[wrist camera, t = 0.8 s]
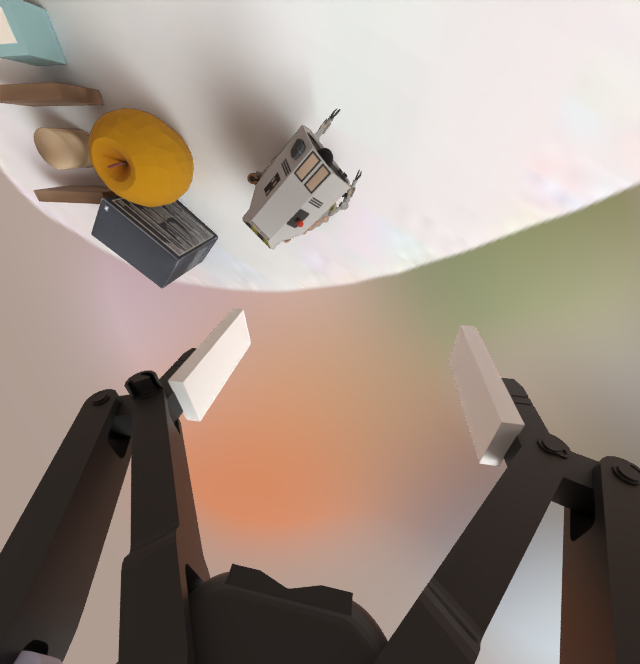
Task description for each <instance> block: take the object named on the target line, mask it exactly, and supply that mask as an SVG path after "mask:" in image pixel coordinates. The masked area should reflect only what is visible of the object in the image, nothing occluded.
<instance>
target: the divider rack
mask: <svg viewBox="0 0 640 664" xmlns="http://www.w3.org/2000/svg"><path fill="white" fill-rule="evenodd" d="M0 103H7V104H16V105H26V106H73V105H104V104H103V101H102V98H101V95H100V92H99V90H94V89H88V88H83V87H78V86H72V85H67V84H62V83H32V84H5V85H0ZM34 192H35V194H36V196H37V198H38V200H39V201H43V202H67V203H91V204H100V203H101V199H102V198H109V197H114V196H118V195H117V194H116V193H114V192H113V191H112V190H110V189H109V188H108V187H105V186H72V185H70V186H62V187H55V188H47V189H40V190H34Z"/></svg>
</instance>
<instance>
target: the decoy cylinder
mask: <svg viewBox="0 0 640 664" xmlns="http://www.w3.org/2000/svg"><path fill="white" fill-rule="evenodd" d="M89 136H90V135H89V134H88V133H86V132H85V131H82V130H76V129H55V128H38V129H37V130H36V131H35V133H34V142H35V145H36V148H37V150H38V152H39V153H40V155H41V156H42V158H43V159H44V160H45V161H46V162H47V163H48V164H49V165H51V166H52V167H54V168H56V169H71V168H84V167H93V165H92V163H91V161H90V153H89V142H88V140H89Z"/></svg>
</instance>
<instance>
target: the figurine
mask: <svg viewBox="0 0 640 664" xmlns="http://www.w3.org/2000/svg"><path fill="white" fill-rule="evenodd" d="M336 110H337V109H336ZM336 110H334V111H333V113H332V114H331V116H329V118H328V120H327V119H326V120H325V121H324V122H323V124H322V125H321V126H320V128H319V130H318V131H317V133H316V134H313V133H312V131H311V130H310V129H309V128H307V127H305V126H303V125H302V126H301V127H300V128H299V130H298V131H297V132H296V134H295V135H294V136H293V137H292V139H291V140H290V141H289V143H288V144H287V145H286V146H285V148H284V149H283V150H282V152H281V153H280V154H279V155H277V156H276V157H275V158H273V159H272V160H271V164H272V165H270V166H269V167H267V168H266V169H265V170H264V172H259V171H256V174H255V173H251V174H249V175H248V181H249V182H250V183H251V184H255V185H256V187H255V191H254V194H253V198H252V202H251V205H250V209H249V210H248V211H247V213H246V214H245V215H244V216H243V218H242V219H243V221H244V222H245V223H246V225H247V226H248V227H249V228H250V229H251V230H252V231H253V232H254V233H255V234H256V235H257V236H258V237H259V238H260V239H261V240H262V241H263V242H264V243H265V244H266V245H267V246H268V247H269V248H270V249H274V248H275V247H276V246H277V245H278V244H279V243H280V242H282V241H284V242H286V243H287V242H289V241H290V240H291V238H294V237H296V236H299V235H302V234H306V232H307V231H309V230H313V229H314V228H316V227H317V226H320V225H321V224H322V223H323V222H327V221H328V219H329V217H330V216H332V215H334V214H335V213H337V212H338V211H339V210H340V209H341V210H345V209H347V208H348V202H349V201H350V198H351V197H352V196H353V193H354V191H355V187H354V186H355V184H356V182H357V180H358V179H359V177H360V176H361V173H360V175H359V176H358V174H359V171H358V173H357V175H356V178H355V180H353V183H352V186H351V185H350V182H349V180H348V178H347V175H346V174H345V172H344V173H343V172H342V170H341V169H340V168H339V167H338V165H337V164H336V163H335V161H334V160H333V154H332V152H331V151H330V150H329V149H327V148H324V147H323V146H322V144H321V143H320V142H319V137H320V136H321V135H322V134H324V133H325V131H326V130H327V129H328V128H329V126H330V125H331V123H330V122H332V121H333V118H334V117H335V116H336V115H337V114H338V112H339V111H340V109H339V110H338V111H337V112H336V113H335V111H336ZM334 113H335V114H334ZM333 115H334V116H333ZM359 170H360V169H359ZM361 172H362V171H361ZM357 176H358V177H357ZM346 192H347V193H346ZM340 197H345V198H344V200H343V202H341V203H340V204H339V207H338V208H337V207H336V206H337V205H336V201H337V200H338V199H339V198H340Z"/></svg>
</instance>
